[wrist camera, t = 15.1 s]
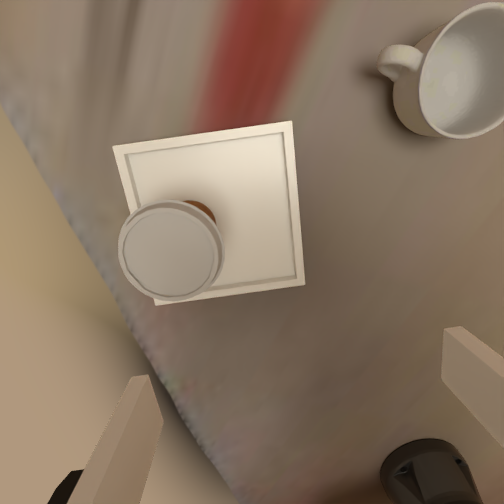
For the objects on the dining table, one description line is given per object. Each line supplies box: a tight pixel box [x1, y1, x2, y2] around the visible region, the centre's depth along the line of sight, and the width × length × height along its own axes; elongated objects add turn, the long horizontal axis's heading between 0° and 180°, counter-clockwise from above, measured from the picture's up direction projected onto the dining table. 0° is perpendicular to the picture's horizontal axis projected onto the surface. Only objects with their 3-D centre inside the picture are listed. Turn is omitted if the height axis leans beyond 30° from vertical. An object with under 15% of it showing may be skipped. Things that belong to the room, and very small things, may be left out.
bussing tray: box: [112, 121, 305, 305], centre depth 36 cm, size 20×20×2 cm
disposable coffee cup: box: [118, 200, 225, 301], centre depth 30 cm, size 10×10×12 cm
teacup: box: [377, 2, 504, 139], centre depth 30 cm, size 14×11×8 cm
